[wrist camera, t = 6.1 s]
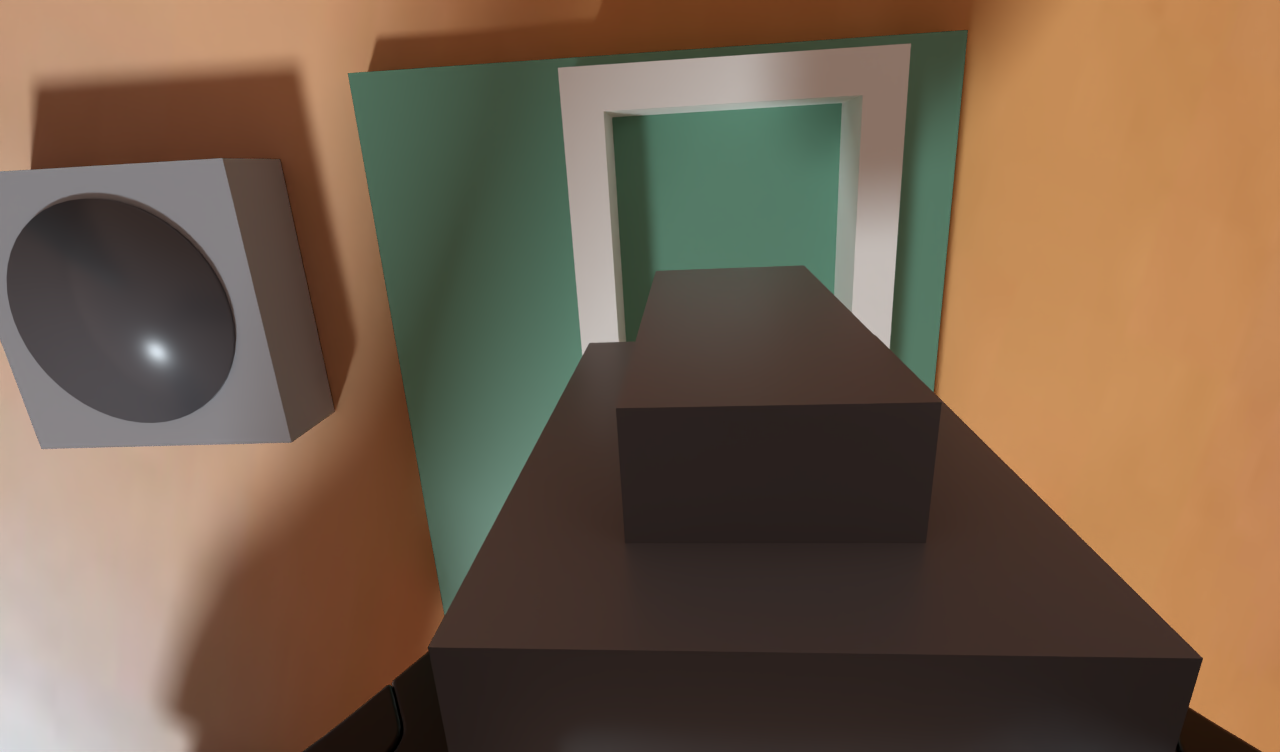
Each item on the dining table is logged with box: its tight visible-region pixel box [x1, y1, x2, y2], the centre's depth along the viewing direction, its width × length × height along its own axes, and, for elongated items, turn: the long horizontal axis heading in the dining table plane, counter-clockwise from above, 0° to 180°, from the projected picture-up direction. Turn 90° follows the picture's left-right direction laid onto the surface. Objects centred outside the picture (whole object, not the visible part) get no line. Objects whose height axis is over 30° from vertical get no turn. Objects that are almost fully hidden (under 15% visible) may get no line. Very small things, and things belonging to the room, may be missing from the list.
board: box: [348, 30, 968, 615], centre depth 19 cm, size 16×18×3 cm
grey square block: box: [0, 158, 335, 449], centre depth 19 cm, size 8×8×3 cm
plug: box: [428, 265, 1203, 752], centre depth 7 cm, size 4×7×6 cm, turn 3°
